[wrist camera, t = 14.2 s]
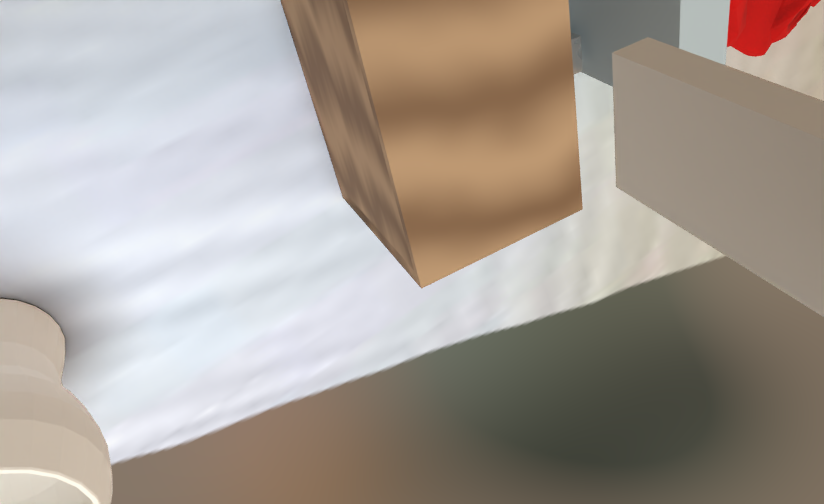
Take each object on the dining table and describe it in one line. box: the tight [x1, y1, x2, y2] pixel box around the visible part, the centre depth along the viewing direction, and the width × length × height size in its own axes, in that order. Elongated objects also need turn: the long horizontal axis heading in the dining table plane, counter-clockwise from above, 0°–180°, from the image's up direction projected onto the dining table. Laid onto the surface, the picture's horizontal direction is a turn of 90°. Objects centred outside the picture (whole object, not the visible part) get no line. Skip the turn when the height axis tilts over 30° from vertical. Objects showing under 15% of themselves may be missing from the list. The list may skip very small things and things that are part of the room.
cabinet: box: [281, 0, 582, 288], centre depth 39 cm, size 20×11×12 cm, turn 13°
